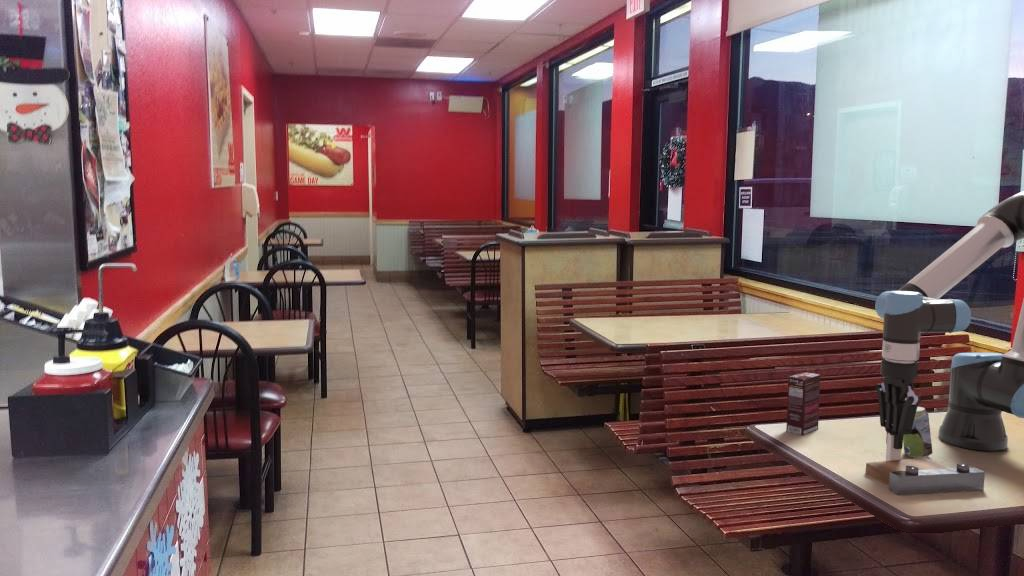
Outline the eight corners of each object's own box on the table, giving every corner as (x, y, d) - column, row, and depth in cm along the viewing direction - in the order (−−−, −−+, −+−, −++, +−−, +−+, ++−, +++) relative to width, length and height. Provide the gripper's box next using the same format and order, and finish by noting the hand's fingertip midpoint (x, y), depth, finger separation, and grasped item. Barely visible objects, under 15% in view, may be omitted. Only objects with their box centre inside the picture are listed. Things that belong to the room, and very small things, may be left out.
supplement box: (801, 429, 207) (804, 371, 206) (818, 433, 204) (821, 374, 202) (784, 435, 202) (787, 376, 200) (801, 439, 198) (805, 379, 196)
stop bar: (973, 484, 167) (974, 461, 167) (983, 490, 164) (985, 466, 164) (888, 489, 164) (890, 466, 164) (897, 495, 161) (899, 471, 161)
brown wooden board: (925, 469, 178) (926, 457, 178) (959, 485, 168) (960, 472, 168) (865, 475, 174) (866, 462, 174) (897, 491, 165) (898, 478, 164)
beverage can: (935, 461, 182) (939, 412, 181) (902, 459, 184) (905, 410, 182) (927, 453, 188) (930, 405, 187) (894, 451, 190) (897, 403, 188)
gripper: (867, 354, 180) (861, 452, 182) (903, 366, 167) (896, 471, 170) (896, 353, 181) (890, 451, 184) (934, 365, 168) (927, 470, 171)
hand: (893, 460), depth 177 cm, fingers closed
